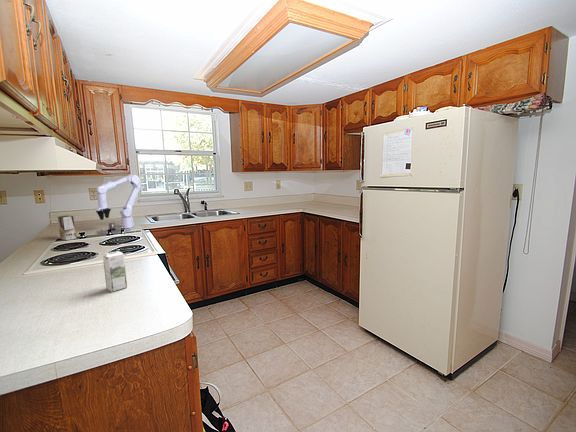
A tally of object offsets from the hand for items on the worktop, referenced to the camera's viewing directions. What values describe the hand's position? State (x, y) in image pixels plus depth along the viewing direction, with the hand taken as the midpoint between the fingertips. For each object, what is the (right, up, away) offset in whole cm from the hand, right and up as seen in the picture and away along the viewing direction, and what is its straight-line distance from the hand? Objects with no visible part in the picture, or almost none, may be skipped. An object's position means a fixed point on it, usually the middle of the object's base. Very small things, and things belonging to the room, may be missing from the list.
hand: (104, 218), depth 227 cm
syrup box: (+77, -27, -112) cm, 139 cm away
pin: (+10, -10, -5) cm, 15 cm away
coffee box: (-9, -14, -25) cm, 30 cm away
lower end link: (+13, -10, -5) cm, 17 cm away
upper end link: (+8, -10, -6) cm, 14 cm away
